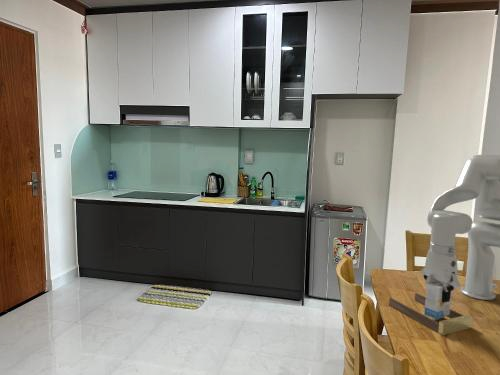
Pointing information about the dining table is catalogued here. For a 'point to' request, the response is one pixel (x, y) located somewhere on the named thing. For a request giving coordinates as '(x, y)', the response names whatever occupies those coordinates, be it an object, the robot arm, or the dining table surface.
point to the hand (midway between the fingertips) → (437, 297)
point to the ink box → (435, 300)
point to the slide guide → (443, 327)
